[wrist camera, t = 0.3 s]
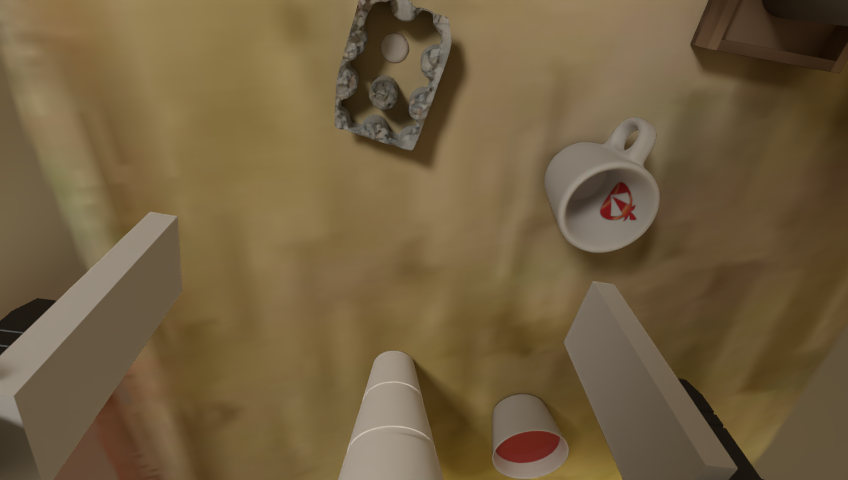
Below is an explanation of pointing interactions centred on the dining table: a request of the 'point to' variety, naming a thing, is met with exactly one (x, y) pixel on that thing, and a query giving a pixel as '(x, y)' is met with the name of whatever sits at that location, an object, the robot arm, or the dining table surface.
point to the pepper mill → (810, 10)
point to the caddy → (771, 36)
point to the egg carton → (385, 86)
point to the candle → (526, 438)
